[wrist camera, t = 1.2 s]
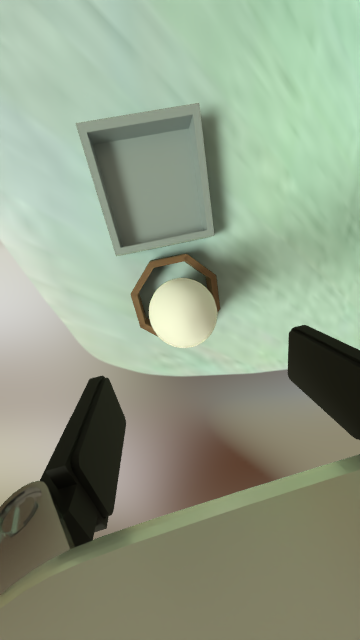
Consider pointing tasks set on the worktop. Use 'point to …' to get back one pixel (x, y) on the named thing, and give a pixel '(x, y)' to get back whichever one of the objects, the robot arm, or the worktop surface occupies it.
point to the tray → (150, 177)
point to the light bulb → (183, 312)
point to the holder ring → (210, 276)
